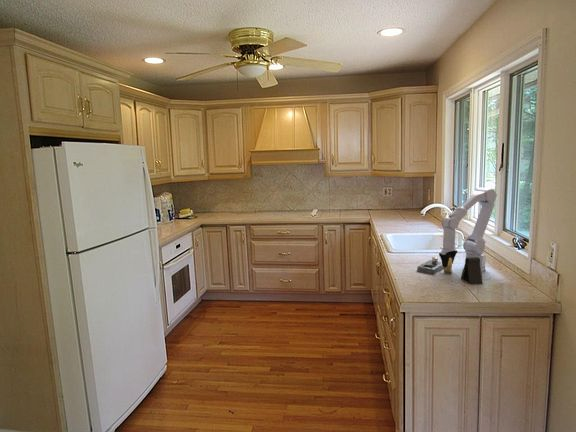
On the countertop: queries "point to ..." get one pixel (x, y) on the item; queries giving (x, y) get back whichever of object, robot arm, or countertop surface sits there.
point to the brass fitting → (448, 267)
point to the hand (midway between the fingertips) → (447, 265)
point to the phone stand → (472, 271)
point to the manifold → (431, 266)
